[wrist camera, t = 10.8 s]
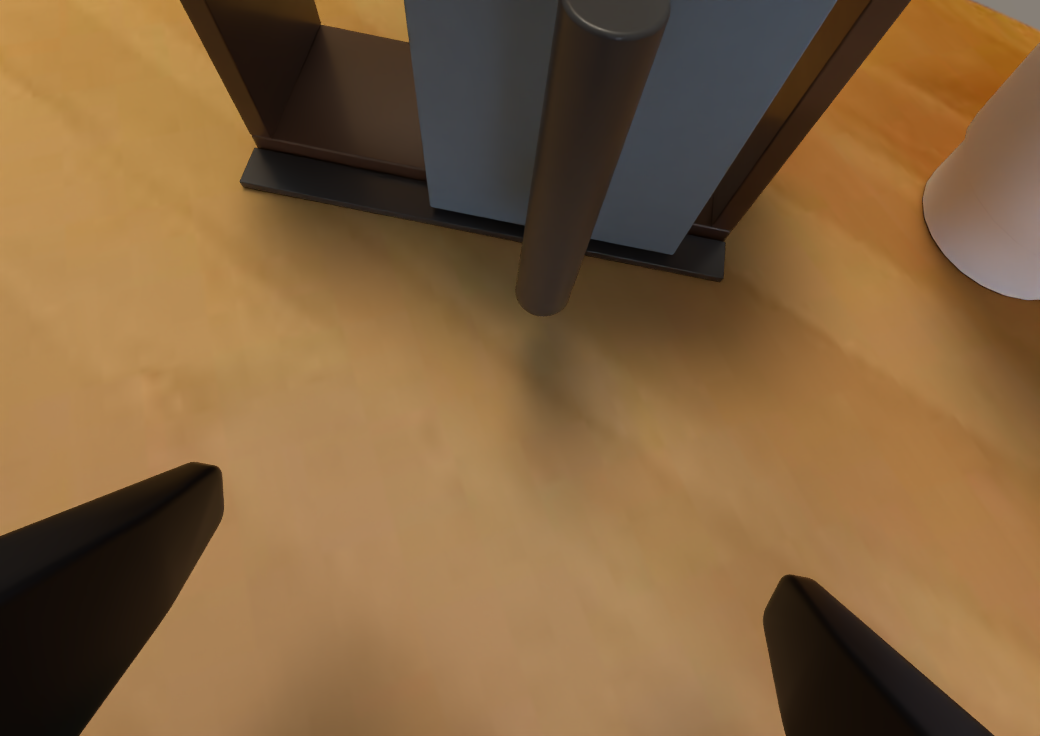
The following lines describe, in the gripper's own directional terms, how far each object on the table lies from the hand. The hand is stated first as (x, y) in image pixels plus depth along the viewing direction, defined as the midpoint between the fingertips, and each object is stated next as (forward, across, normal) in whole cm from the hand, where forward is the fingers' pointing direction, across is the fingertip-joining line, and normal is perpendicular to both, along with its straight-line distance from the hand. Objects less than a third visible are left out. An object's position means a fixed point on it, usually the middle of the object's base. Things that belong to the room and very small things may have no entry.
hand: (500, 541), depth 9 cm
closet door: (+12, 0, -1) cm, 12 cm away
